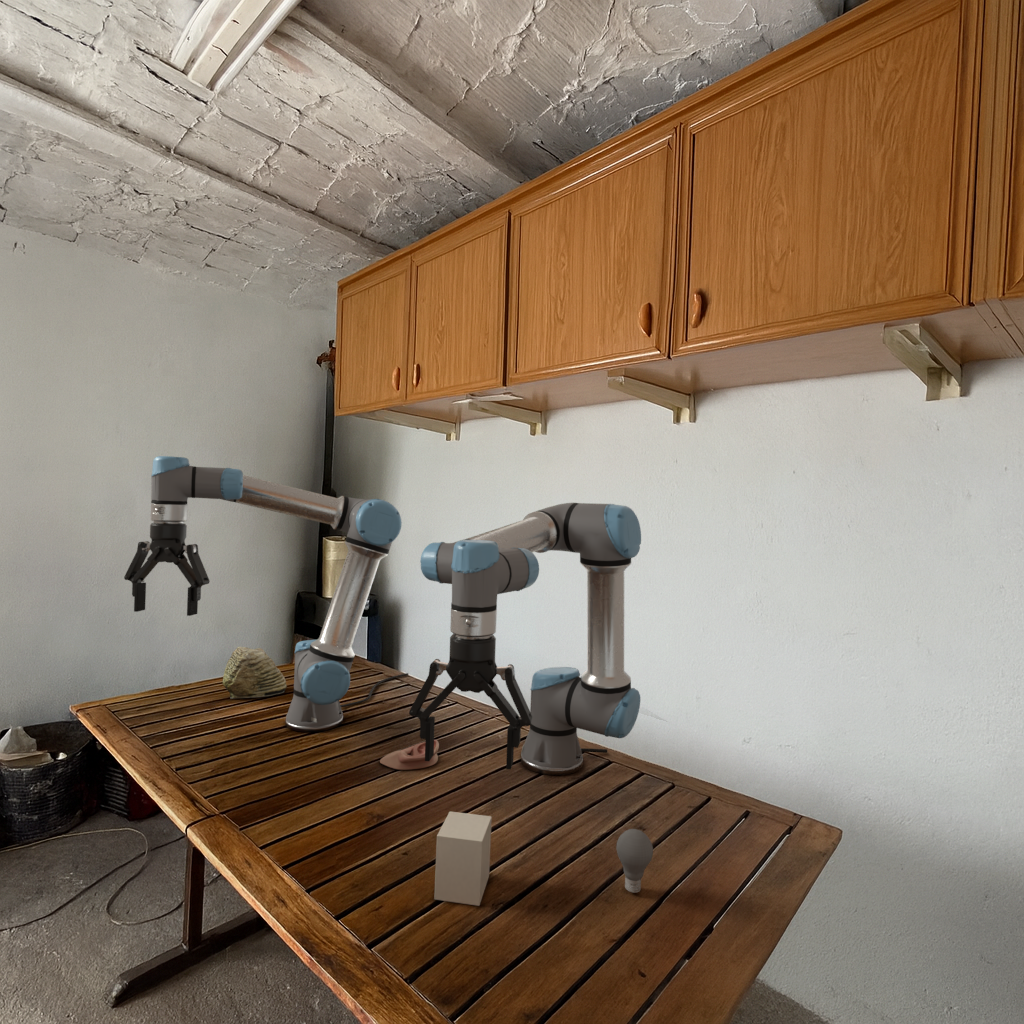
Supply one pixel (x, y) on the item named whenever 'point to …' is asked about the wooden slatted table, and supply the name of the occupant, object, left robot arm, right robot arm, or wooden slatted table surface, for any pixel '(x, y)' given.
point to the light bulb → (634, 857)
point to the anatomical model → (410, 757)
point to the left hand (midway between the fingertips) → (165, 612)
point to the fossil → (252, 674)
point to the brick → (463, 858)
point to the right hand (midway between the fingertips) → (469, 762)
